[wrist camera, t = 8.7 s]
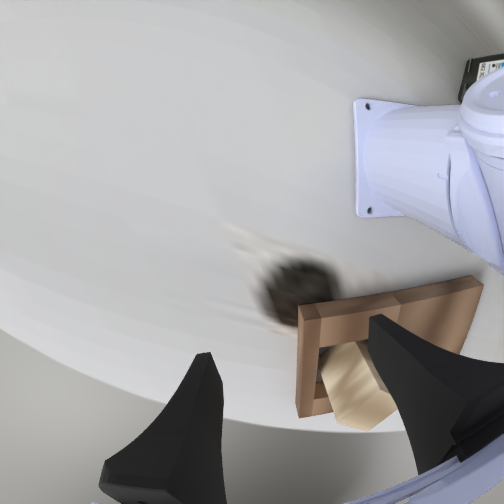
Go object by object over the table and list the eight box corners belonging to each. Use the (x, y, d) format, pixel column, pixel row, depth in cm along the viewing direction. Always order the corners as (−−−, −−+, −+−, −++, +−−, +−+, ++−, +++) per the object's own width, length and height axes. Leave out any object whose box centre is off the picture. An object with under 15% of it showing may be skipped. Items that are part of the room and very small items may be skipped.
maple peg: (348, 329, 22) (380, 389, 16) (374, 346, 23) (406, 401, 17) (316, 360, 23) (337, 423, 17) (344, 374, 24) (367, 431, 18)
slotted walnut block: (471, 275, 21) (483, 284, 20) (441, 365, 26) (449, 376, 24) (298, 305, 21) (304, 320, 19) (295, 403, 25) (298, 418, 23)
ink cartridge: (465, 58, 14) (533, 48, 6) (481, 75, 14) (547, 71, 7) (455, 100, 15) (531, 98, 8) (471, 116, 16) (545, 121, 8)
